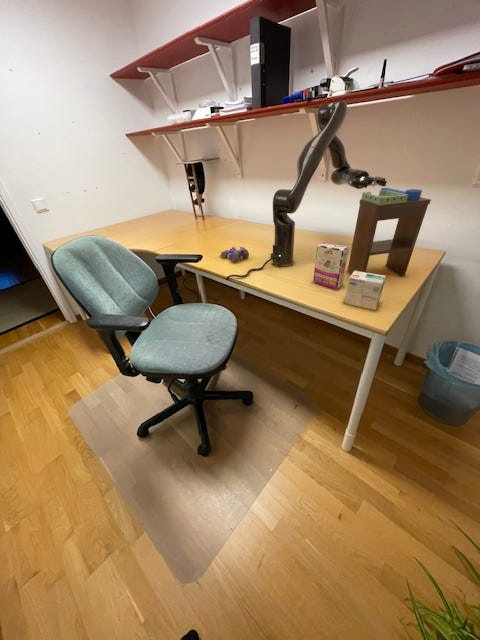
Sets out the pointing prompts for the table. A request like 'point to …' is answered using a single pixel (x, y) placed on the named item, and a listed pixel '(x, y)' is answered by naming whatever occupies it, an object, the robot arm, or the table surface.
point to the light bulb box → (364, 289)
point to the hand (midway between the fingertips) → (376, 184)
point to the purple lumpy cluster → (235, 254)
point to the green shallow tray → (385, 197)
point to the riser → (397, 247)
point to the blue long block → (408, 193)
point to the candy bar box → (330, 264)
